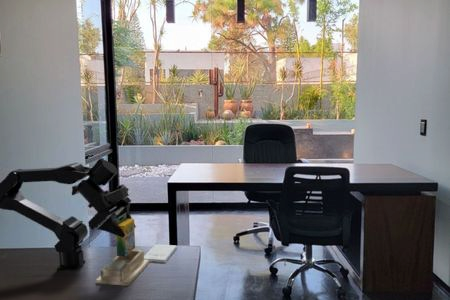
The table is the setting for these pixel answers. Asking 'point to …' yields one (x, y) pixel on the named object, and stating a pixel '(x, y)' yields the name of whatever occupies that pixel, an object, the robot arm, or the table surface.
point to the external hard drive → (160, 253)
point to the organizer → (123, 269)
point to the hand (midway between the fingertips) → (129, 232)
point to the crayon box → (128, 240)
